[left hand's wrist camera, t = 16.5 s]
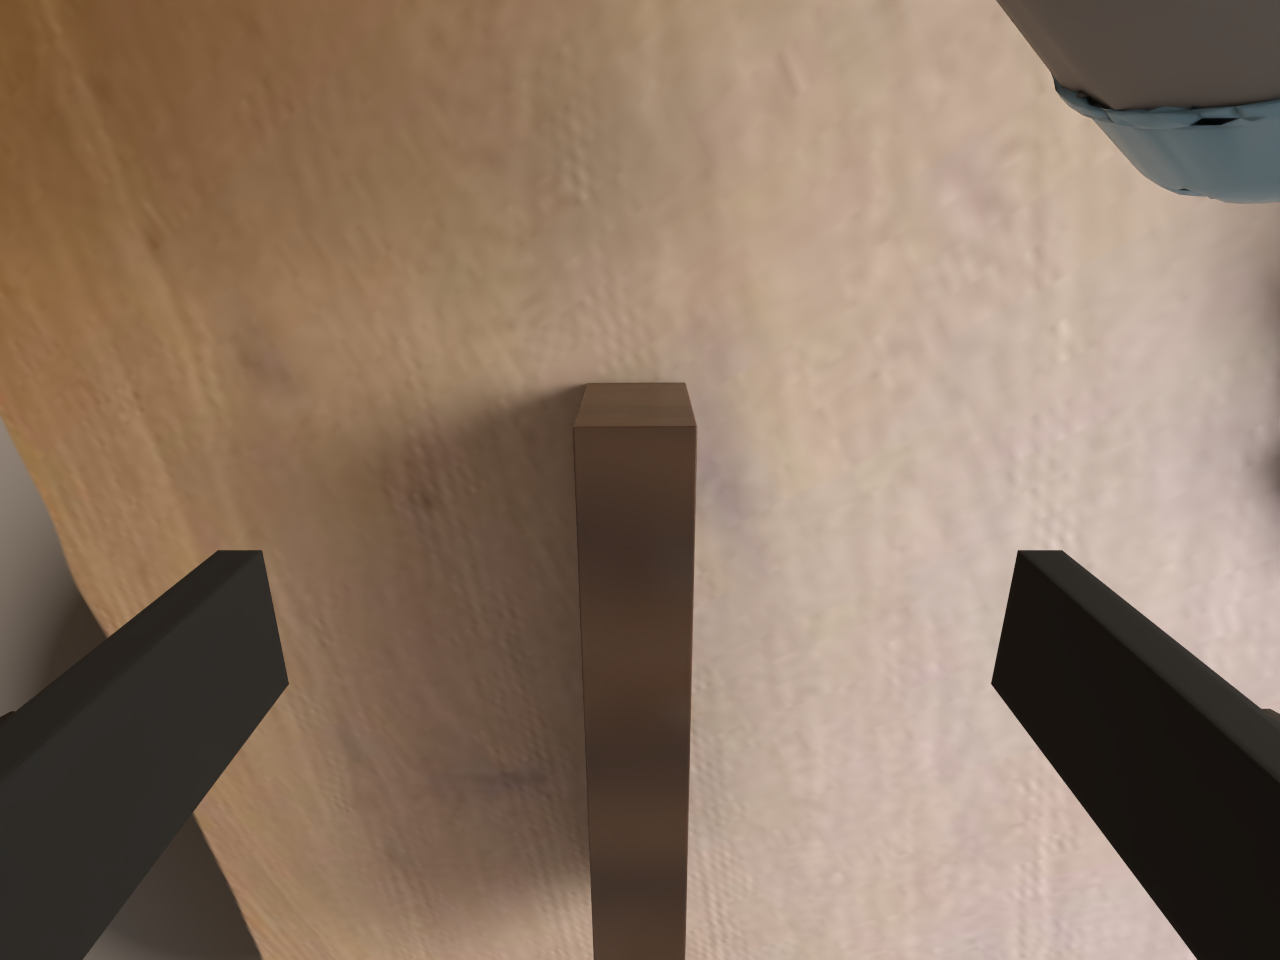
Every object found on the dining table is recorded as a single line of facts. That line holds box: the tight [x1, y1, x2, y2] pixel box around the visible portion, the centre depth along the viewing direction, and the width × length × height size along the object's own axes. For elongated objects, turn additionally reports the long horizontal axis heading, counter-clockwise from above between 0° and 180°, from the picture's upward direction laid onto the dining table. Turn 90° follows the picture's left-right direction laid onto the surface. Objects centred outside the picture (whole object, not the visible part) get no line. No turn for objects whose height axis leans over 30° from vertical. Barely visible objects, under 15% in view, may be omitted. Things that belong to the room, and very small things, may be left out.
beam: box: [573, 383, 697, 960], centre depth 38 cm, size 32×5×8 cm, turn 0°
